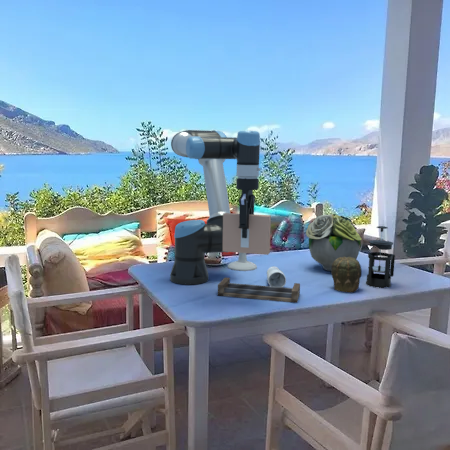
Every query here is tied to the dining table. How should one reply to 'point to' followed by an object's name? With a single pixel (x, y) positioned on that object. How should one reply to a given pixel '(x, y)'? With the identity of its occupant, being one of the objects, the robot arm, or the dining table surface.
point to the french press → (376, 278)
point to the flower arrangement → (332, 239)
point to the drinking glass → (276, 277)
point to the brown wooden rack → (258, 291)
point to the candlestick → (242, 264)
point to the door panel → (257, 234)
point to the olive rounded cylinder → (346, 274)
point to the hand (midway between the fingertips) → (246, 246)
